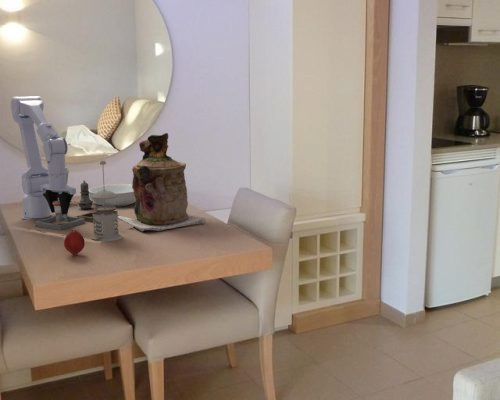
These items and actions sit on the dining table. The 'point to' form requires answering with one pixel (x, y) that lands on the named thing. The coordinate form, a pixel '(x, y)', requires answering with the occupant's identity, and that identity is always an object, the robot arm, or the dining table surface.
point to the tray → (47, 224)
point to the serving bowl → (122, 190)
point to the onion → (74, 242)
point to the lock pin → (59, 211)
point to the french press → (105, 216)
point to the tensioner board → (88, 216)
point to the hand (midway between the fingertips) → (59, 213)
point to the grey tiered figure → (85, 197)
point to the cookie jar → (159, 189)
